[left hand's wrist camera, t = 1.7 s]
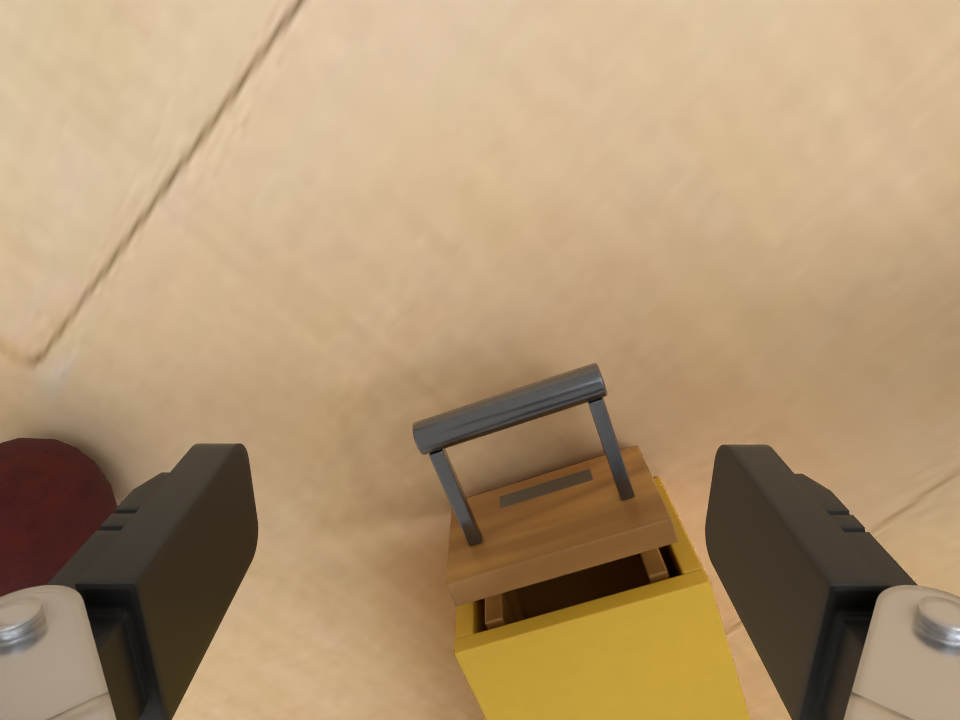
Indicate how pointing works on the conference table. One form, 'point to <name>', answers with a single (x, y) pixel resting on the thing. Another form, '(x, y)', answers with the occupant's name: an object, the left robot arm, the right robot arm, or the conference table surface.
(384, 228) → the conference table surface
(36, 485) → the dark maroon ball
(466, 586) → the drawer
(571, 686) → the cabinet
